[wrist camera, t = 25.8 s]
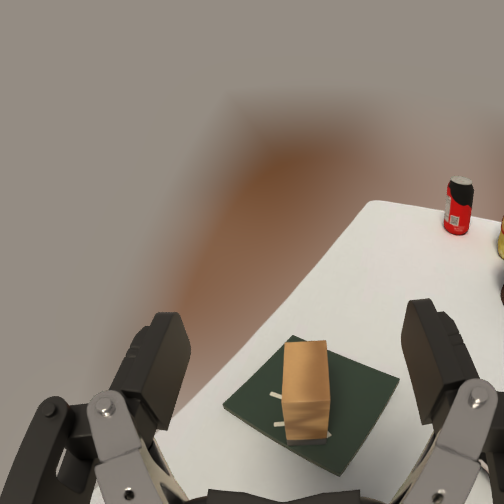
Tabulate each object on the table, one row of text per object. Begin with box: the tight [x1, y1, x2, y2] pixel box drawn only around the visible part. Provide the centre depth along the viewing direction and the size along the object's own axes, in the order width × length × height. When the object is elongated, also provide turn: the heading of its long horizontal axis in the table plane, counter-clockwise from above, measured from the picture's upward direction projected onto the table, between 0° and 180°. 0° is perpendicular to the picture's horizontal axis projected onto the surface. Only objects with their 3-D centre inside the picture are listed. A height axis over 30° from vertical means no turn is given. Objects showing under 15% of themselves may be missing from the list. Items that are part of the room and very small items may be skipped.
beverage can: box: [444, 176, 474, 235], centre depth 59 cm, size 6×6×12 cm
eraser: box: [281, 340, 330, 446], centre depth 29 cm, size 4×7×9 cm, turn 174°
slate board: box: [223, 335, 400, 477], centre depth 34 cm, size 16×14×1 cm
